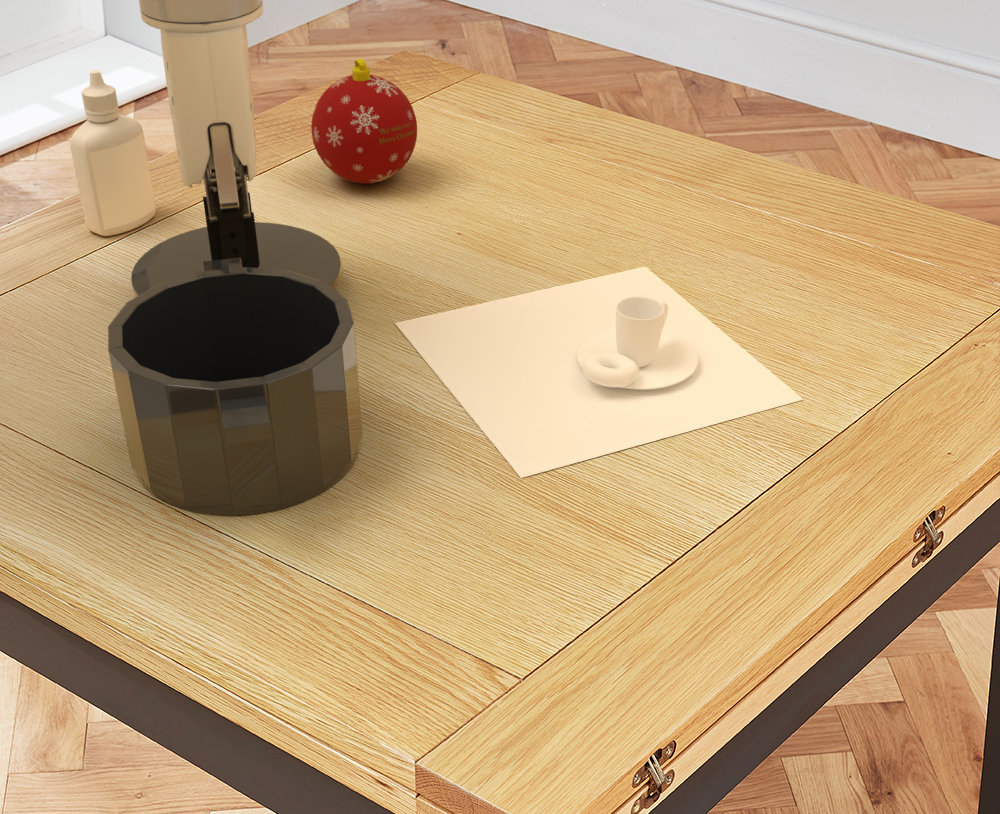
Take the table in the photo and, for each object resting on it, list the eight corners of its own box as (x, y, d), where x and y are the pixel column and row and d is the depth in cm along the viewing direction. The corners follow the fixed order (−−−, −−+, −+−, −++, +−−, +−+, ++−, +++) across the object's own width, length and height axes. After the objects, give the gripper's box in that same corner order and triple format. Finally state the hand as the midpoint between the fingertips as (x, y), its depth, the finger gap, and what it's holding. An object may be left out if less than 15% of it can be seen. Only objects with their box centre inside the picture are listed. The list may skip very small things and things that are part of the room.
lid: (135, 346, 89) (116, 246, 84) (131, 247, 100) (115, 155, 96) (355, 321, 92) (348, 223, 87) (327, 227, 103) (320, 137, 98)
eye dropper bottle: (163, 228, 105) (139, 76, 98) (90, 240, 103) (59, 87, 96) (153, 206, 108) (128, 57, 101) (81, 217, 107) (51, 67, 99)
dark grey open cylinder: (135, 561, 73) (108, 431, 68) (130, 378, 88) (107, 260, 83) (384, 525, 75) (376, 397, 70) (338, 354, 90) (329, 237, 85)
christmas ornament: (340, 209, 108) (331, 86, 102) (300, 170, 114) (289, 52, 108) (436, 187, 111) (433, 67, 105) (392, 151, 117) (386, 35, 111)
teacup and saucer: (602, 409, 85) (605, 353, 82) (545, 350, 90) (546, 296, 88) (720, 378, 88) (727, 323, 85) (658, 322, 93) (662, 269, 91)
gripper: (135, -43, 89) (175, 215, 100) (140, 36, 77) (186, 320, 88) (249, -50, 90) (277, 205, 102) (273, 26, 78) (301, 307, 89)
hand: (234, 256), depth 95 cm, fingers closed on lid, 2 cm apart
